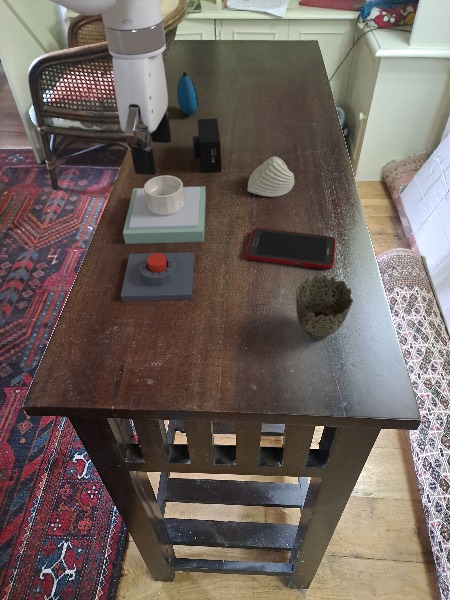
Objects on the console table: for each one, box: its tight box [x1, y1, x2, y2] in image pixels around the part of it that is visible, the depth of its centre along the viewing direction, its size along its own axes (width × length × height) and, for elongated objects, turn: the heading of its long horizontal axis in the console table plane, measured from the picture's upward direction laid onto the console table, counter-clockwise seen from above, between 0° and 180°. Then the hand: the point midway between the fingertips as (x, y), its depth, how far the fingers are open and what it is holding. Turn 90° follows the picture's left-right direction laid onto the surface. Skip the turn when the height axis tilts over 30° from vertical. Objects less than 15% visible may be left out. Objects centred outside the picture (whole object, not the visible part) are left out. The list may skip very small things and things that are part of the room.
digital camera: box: [192, 117, 222, 174], centre depth 98 cm, size 10×5×7 cm, turn 4°
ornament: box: [176, 71, 199, 116], centre depth 112 cm, size 8×5×10 cm, turn 22°
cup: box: [295, 274, 354, 341], centre depth 63 cm, size 8×7×8 cm
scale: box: [122, 185, 207, 245], centre depth 85 cm, size 14×14×3 cm
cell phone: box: [245, 227, 337, 270], centre depth 78 cm, size 8×15×1 cm, turn 78°
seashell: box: [247, 155, 295, 198], centre depth 90 cm, size 8×8×8 cm
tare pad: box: [120, 251, 196, 302], centre depth 74 cm, size 11×10×3 cm
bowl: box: [143, 174, 185, 215], centre depth 82 cm, size 7×7×4 cm
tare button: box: [147, 252, 167, 273], centre depth 72 cm, size 3×3×2 cm
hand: (154, 156), depth 72 cm, fingers open, 9 cm apart
